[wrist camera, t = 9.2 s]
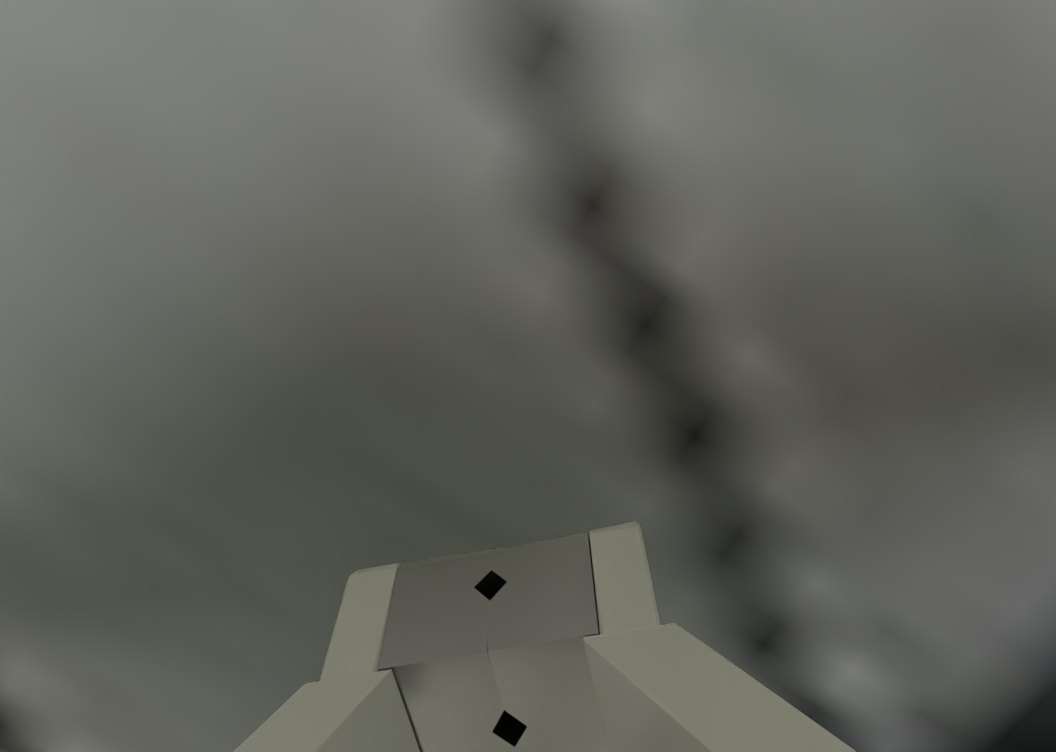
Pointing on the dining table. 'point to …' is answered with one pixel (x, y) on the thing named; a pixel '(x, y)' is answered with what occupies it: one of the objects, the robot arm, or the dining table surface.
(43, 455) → the dining table surface
